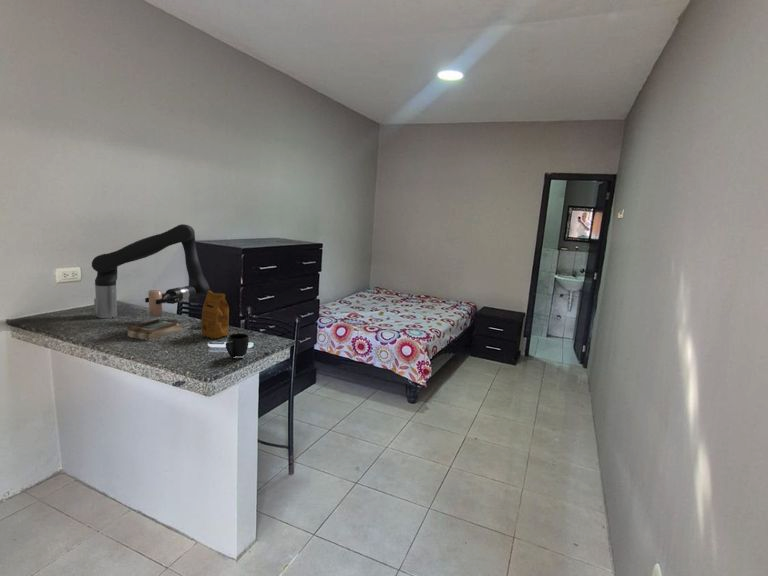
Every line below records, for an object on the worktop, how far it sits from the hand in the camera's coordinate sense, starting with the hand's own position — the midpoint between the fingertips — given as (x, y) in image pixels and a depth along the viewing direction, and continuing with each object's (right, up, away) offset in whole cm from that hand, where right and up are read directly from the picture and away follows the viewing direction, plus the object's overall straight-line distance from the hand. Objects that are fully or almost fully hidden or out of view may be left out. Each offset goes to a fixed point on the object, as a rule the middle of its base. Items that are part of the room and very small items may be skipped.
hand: (151, 301), depth 196 cm
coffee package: (+26, -17, +10) cm, 33 cm away
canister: (0, -7, +4) cm, 8 cm away
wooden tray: (-1, -16, +5) cm, 17 cm away
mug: (+46, -24, -18) cm, 55 cm away
